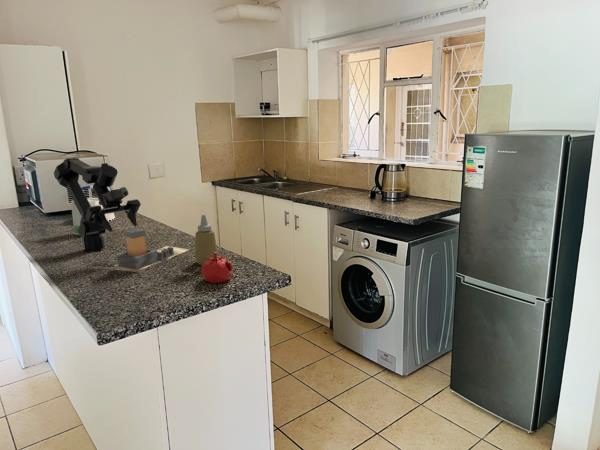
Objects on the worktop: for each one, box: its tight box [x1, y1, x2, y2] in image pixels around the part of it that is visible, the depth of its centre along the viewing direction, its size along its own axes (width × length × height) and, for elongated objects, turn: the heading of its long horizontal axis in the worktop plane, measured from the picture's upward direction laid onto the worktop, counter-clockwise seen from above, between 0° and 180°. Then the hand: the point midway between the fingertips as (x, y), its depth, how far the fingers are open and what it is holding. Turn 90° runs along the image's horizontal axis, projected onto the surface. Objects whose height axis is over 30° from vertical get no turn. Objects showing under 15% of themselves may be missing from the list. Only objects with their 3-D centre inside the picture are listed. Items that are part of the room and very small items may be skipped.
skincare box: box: [70, 199, 95, 236], centre depth 205 cm, size 8×7×16 cm
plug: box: [124, 227, 147, 257], centre depth 158 cm, size 5×5×12 cm
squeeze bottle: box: [194, 214, 219, 268], centre depth 157 cm, size 8×8×18 cm
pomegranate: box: [200, 252, 234, 284], centre depth 143 cm, size 10×10×9 cm
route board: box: [114, 245, 191, 274], centre depth 165 cm, size 26×12×5 cm, turn 154°
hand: (124, 228), depth 161 cm, fingers open, 9 cm apart
